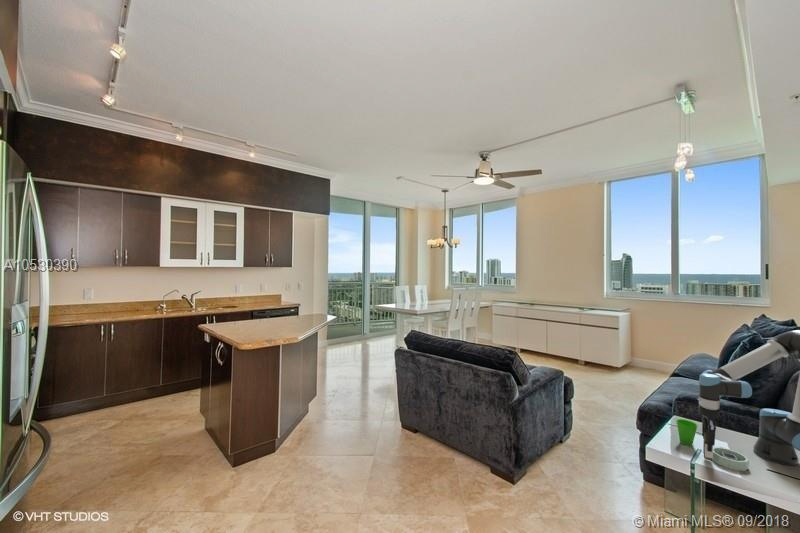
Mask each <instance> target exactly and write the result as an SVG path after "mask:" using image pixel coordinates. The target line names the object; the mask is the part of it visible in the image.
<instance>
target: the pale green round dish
mask: <svg viewBox="0 0 800 533" xmlns="http://www.w3.org/2000/svg"><path fill="white" fill-rule="evenodd" d="M712 461H713V462H715V463H716V464H718V465H719V466H722V467H725V468H727V469H731V470H735V471H747V470H749V464H750V463H749V462H750V461H749V458H748V457H747V456H746V455H744V454H742V453H741V452H738V451H736V450H732V449H730V448H724V447H718V446H713V458H712Z"/></svg>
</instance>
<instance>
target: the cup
mask: <svg viewBox="0 0 800 533" xmlns="http://www.w3.org/2000/svg"><path fill="white" fill-rule="evenodd" d="M675 421H676V425H677V432H678V438H679V442H680V443H681V444H682V445H685V446H693V444H694V440H695V437H696V433H697V430H698V427H699V424H698V423H697V422H694V421H692V420H688V419H686V418H685V419H684V418H677V419H676V420H675Z"/></svg>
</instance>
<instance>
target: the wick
mask: <svg viewBox="0 0 800 533" xmlns="http://www.w3.org/2000/svg"><path fill="white" fill-rule="evenodd" d="M703 440H704V442H706V433H705V432H704V439H703ZM703 458H704V460H706V461H710V462H711V461H713V460H712V458H708V457H705V443H704V454H703Z"/></svg>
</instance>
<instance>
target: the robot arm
mask: <svg viewBox="0 0 800 533" xmlns="http://www.w3.org/2000/svg"><path fill="white" fill-rule="evenodd" d="M793 355H797V360H798V361H799V362H800V329H795V330H789V331H785V332H783V333H780V334H777V335H775V336H774V337H772V338H769V339H768V340H767V341H766V343H765V344H763V345H761V346H760V347H757V348H756V349H755V348H754V349H753V350H751V351H750V352H747V353H746V354H744V355H742V356H740V357H738V358H736V359H734V360H732V361H731V362H729V363H726V364H725V365H723V366H721V367H719V368H717V369H715V370H711V369H707V370H704V371H703V372H702V373H701V374H699V378H698V398H696V399H697V401H698V413H699V415H701V426H702V428H701V429H702V430H701V432H702V433H701V435H702V439H703V443H702V444H703V446H702V447H703V448H702V450H703V451H702V454H703V455H704V443H705V457H708V458H713V447H714V446H715V445H716V444H715V443H716V430H717V426H716V421H715V419H718V418H720V408H721V397H730V398H738V399H739V398H740V399H744V398H747V399H748V398H750V397H751V396H752V394H753V388H752V385H751V384H750V383H749V382H747V381H744V380H740V379H741V378H743V377H744V376H746V375H749V374H750V373H752V372H754V371H756V370H759V369H760V368H762V367H765V366H767V365H768V364H770V363H772V362H774V361H776V360H779V359H781V358H782V357H783V358H788V357H790V356H793ZM738 379H739V380H738ZM795 392H796V393H795V397H794V402H793V407H792V411H791V412H789V411H785V410H781V409H775V408H761V409H760V411H759V415H758V416H759V428H758V429H759V430H758V437H757V439H756V442H755V443H754V444H753V452H754V454H756V455H757V456H759V457H761V458H763V459H765V460H768V461H771V462H773V463H777V464H782V465H785V466H797V465H796V464H798V465H799V457H798V454H797V452H796V450H797V451H799V452H800V374H799V375H798V380H797V387H796V391H795ZM704 432H705V433H706V442H704Z"/></svg>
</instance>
